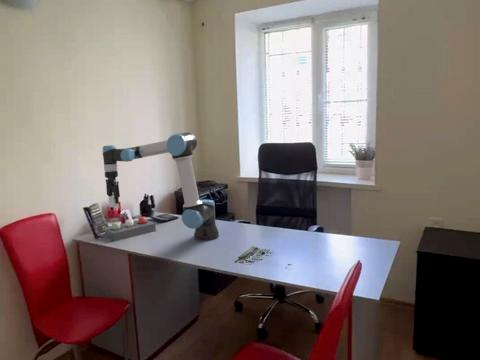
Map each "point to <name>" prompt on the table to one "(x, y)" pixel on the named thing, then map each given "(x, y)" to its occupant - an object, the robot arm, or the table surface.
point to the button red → (142, 220)
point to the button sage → (116, 226)
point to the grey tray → (129, 230)
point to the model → (251, 252)
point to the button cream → (129, 223)
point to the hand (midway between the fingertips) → (114, 207)
